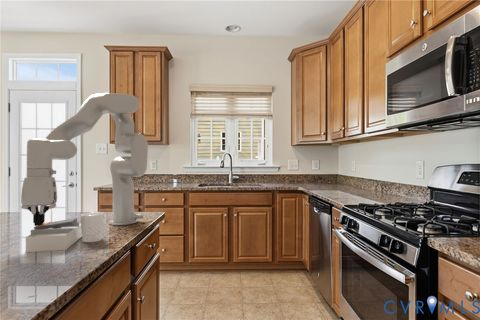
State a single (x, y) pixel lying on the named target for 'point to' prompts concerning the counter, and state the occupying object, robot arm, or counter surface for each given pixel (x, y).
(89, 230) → the white cup
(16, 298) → the counter surface
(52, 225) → the breaker rocker
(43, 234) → the breaker panel
